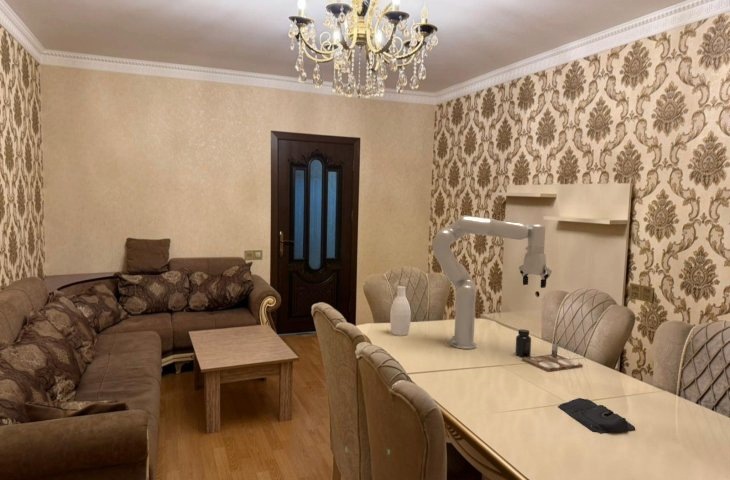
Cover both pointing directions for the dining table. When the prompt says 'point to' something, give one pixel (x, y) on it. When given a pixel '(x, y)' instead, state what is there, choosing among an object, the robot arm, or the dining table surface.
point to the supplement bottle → (523, 343)
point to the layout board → (552, 361)
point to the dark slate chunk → (596, 416)
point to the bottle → (400, 313)
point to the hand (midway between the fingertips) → (534, 286)
